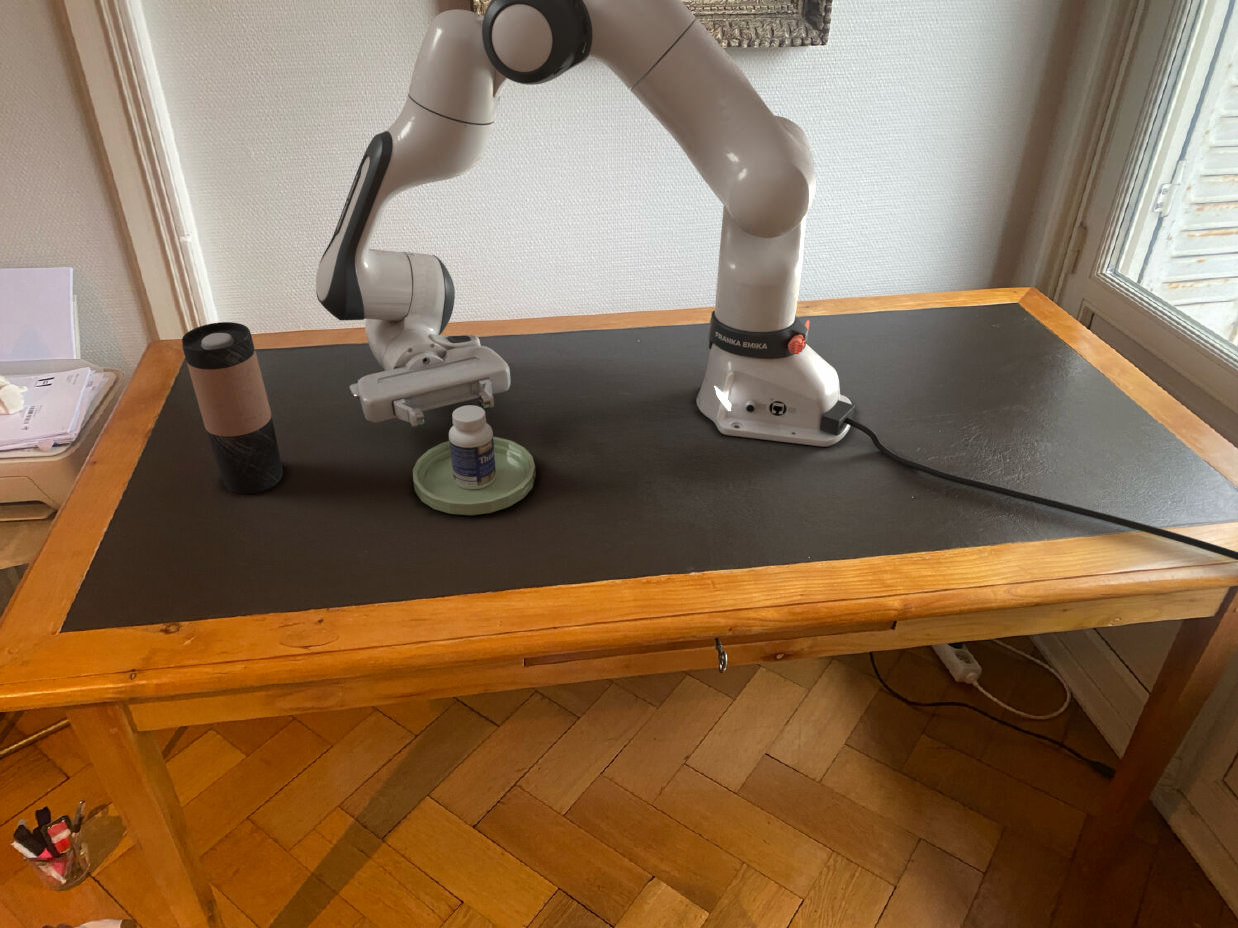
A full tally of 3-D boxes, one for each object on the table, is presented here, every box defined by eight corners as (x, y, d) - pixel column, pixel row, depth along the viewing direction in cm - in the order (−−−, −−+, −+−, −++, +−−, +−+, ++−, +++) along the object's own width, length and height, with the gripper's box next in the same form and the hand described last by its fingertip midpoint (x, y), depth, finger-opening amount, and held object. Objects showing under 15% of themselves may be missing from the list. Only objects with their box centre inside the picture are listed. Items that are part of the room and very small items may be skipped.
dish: (555, 464, 116) (554, 451, 115) (497, 529, 105) (496, 516, 104) (455, 438, 121) (454, 426, 120) (390, 498, 110) (388, 485, 108)
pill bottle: (488, 493, 110) (482, 427, 105) (447, 488, 111) (439, 421, 106) (501, 469, 115) (496, 404, 109) (462, 464, 115) (455, 399, 110)
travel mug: (297, 468, 115) (265, 327, 104) (259, 500, 109) (220, 355, 98) (248, 456, 117) (211, 317, 106) (208, 488, 111) (164, 344, 100)
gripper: (342, 363, 118) (370, 410, 108) (486, 332, 126) (525, 373, 116) (349, 404, 121) (378, 453, 111) (489, 371, 129) (527, 414, 119)
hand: (454, 412), depth 114 cm, fingers open, 8 cm apart
